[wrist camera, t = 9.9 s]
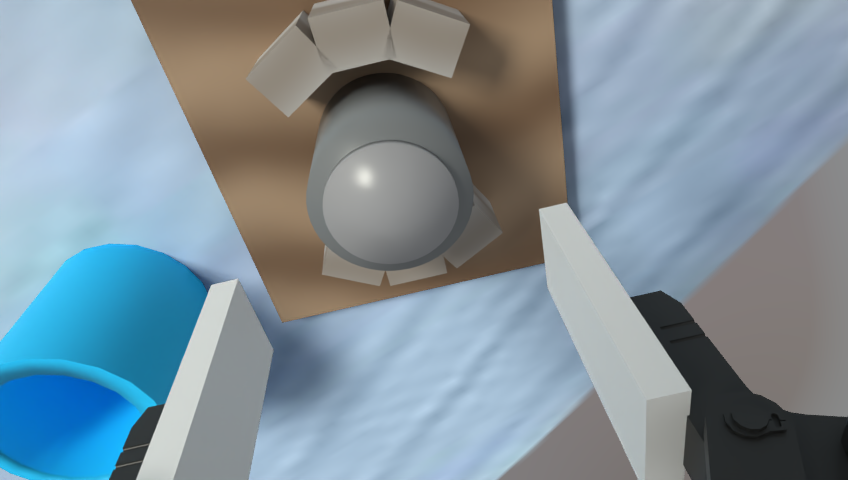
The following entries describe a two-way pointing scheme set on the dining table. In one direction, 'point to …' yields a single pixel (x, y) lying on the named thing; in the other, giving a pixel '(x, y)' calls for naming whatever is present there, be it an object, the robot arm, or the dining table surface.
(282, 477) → the dining table surface
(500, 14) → the board
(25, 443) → the mug
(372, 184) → the cap
